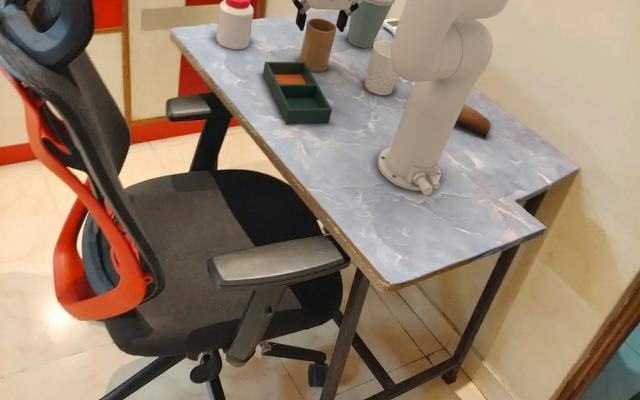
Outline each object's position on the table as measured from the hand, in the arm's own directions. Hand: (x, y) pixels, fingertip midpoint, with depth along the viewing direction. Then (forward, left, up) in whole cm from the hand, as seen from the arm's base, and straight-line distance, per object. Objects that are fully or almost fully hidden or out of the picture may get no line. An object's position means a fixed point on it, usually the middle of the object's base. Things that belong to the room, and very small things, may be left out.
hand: (319, 28), depth 134 cm
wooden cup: (0, 0, -9) cm, 9 cm away
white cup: (-10, -13, -9) cm, 19 cm away
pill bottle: (+10, +17, -9) cm, 22 cm away
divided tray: (-14, +9, -9) cm, 19 cm away
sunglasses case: (-22, -26, -9) cm, 36 cm away
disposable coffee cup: (+11, -17, -9) cm, 22 cm away
